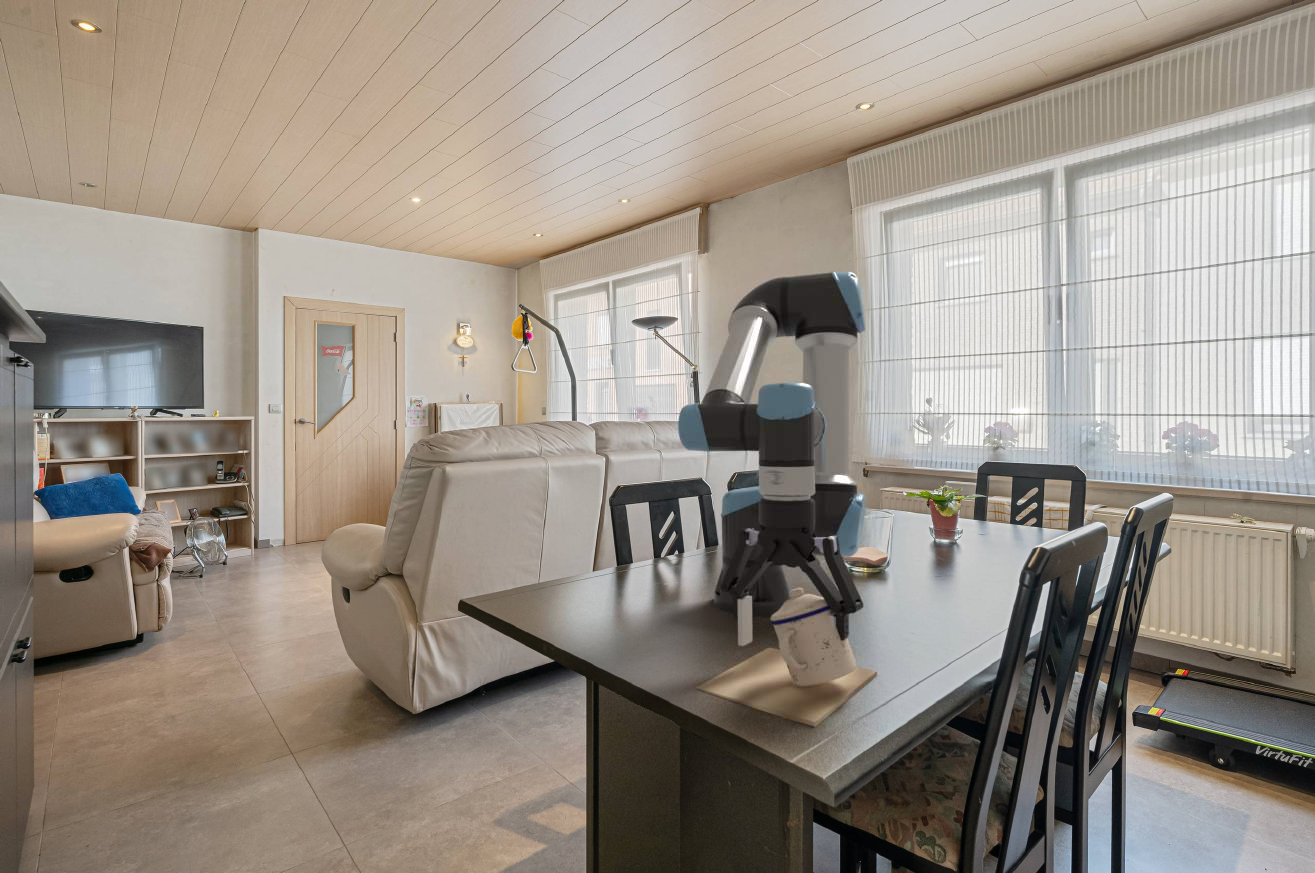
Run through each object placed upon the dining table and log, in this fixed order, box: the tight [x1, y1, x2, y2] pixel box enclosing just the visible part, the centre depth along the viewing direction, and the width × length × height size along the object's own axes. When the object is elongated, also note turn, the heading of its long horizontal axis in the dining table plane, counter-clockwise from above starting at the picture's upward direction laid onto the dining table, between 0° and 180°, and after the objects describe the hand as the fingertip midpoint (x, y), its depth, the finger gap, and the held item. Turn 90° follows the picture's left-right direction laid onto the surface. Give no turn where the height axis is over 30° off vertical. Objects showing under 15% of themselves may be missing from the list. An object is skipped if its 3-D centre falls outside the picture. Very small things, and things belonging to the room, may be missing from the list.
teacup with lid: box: [770, 587, 857, 687], centre depth 86 cm, size 12×9×12 cm
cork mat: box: [695, 647, 878, 728], centre depth 89 cm, size 17×20×1 cm
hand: (788, 653), depth 89 cm, fingers open, 13 cm apart
